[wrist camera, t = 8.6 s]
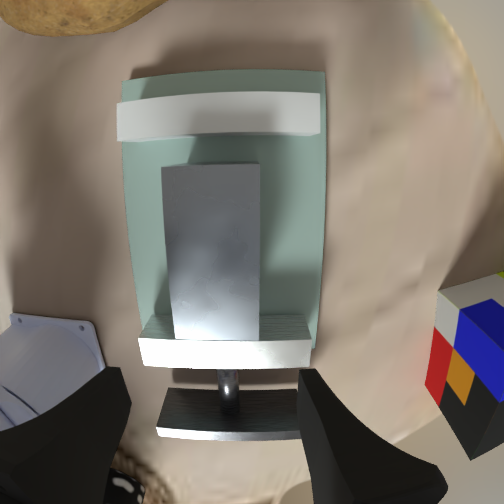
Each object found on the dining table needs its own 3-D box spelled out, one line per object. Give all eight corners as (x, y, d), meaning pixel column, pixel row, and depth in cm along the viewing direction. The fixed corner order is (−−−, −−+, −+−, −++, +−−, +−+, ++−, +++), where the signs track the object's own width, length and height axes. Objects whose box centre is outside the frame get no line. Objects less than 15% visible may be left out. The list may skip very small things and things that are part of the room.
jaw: (170, 396, 23) (159, 435, 19) (153, 310, 20) (133, 346, 16) (295, 397, 23) (302, 438, 19) (303, 310, 20) (314, 348, 16)
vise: (150, 340, 22) (134, 372, 18) (128, 84, 17) (101, 70, 13) (312, 340, 22) (322, 375, 18) (321, 75, 17) (338, 58, 13)
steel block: (193, 291, 20) (175, 338, 15) (187, 162, 17) (161, 166, 12) (256, 291, 20) (258, 340, 15) (257, 161, 17) (260, 164, 12)
